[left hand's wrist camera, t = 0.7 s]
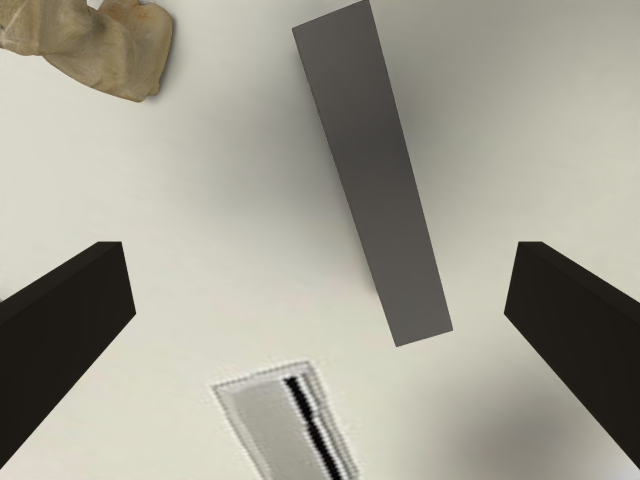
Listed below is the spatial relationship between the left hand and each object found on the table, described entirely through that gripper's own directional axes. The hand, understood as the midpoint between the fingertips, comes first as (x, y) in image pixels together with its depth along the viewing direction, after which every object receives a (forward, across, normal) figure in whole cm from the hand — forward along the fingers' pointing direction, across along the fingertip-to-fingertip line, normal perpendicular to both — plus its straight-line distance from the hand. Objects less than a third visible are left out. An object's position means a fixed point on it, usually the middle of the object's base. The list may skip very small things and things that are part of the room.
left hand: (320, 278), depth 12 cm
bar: (+22, +4, -1) cm, 23 cm away
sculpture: (+22, -14, +9) cm, 28 cm away
